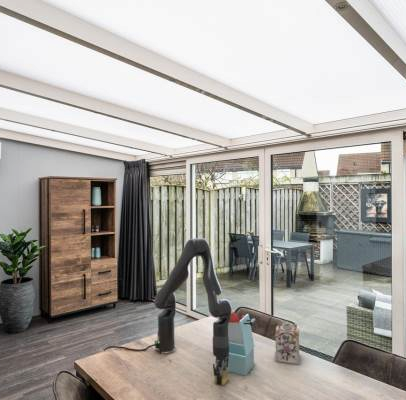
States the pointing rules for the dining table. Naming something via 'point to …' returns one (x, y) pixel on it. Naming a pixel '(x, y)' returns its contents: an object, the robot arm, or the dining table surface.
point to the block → (223, 377)
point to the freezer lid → (247, 333)
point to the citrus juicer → (235, 329)
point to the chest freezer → (239, 359)
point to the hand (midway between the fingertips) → (221, 380)
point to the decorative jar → (287, 343)
